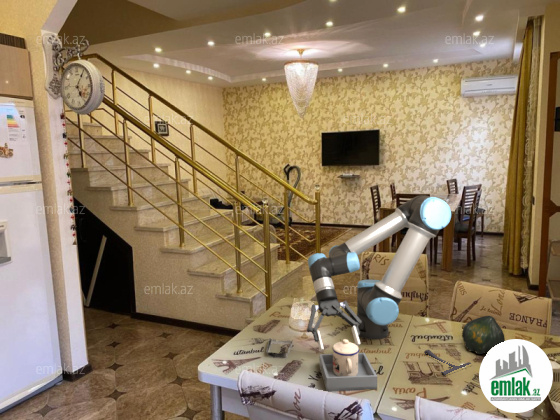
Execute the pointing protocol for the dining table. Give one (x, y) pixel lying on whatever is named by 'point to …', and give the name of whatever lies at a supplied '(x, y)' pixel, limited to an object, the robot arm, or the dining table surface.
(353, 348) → the teacup with lid
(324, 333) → the dining table surface
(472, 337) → the squash
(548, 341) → the dining table surface
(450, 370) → the dark grey rake
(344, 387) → the tray
